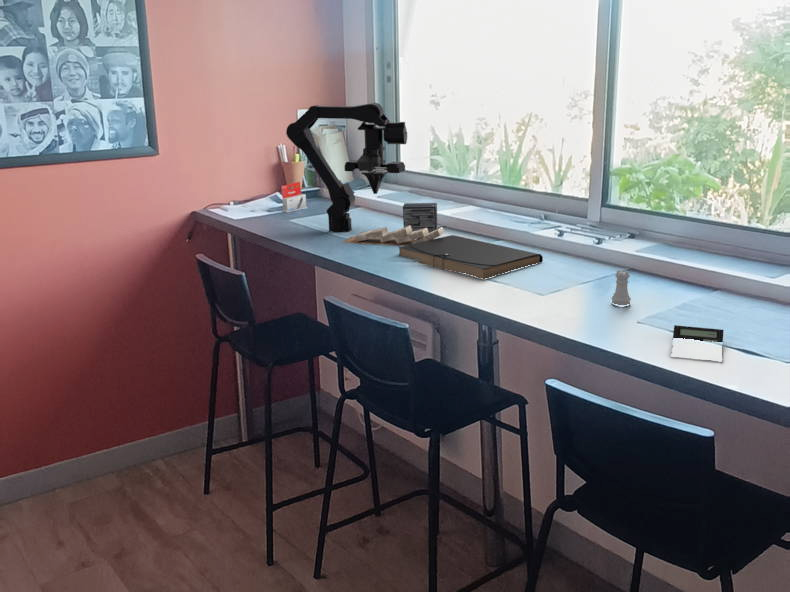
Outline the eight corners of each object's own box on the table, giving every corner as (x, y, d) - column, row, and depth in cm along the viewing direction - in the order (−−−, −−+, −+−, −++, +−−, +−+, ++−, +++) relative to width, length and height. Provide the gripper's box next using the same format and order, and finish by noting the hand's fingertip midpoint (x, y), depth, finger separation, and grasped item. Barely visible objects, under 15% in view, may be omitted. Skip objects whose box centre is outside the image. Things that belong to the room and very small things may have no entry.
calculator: (670, 358, 157) (671, 344, 156) (673, 338, 167) (674, 324, 166) (722, 364, 154) (723, 349, 153) (722, 343, 164) (723, 329, 163)
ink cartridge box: (306, 207, 308) (305, 181, 305) (287, 212, 299) (285, 186, 296) (301, 207, 309) (300, 181, 306) (282, 212, 300) (280, 186, 297)
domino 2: (379, 237, 247) (405, 228, 243) (384, 234, 251) (410, 225, 247) (381, 243, 247) (407, 234, 243) (386, 239, 251) (412, 230, 248)
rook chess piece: (627, 308, 185) (629, 275, 182) (608, 306, 187) (610, 272, 185) (633, 303, 188) (635, 270, 186) (614, 300, 191) (616, 267, 188)
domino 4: (412, 242, 243) (437, 230, 239) (417, 238, 248) (442, 226, 244) (414, 247, 243) (440, 235, 240) (419, 244, 248) (444, 232, 244)
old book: (397, 246, 232) (456, 233, 247) (397, 260, 233) (456, 246, 248) (483, 267, 208) (543, 251, 223) (483, 282, 209) (542, 266, 224)
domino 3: (395, 238, 245) (422, 231, 241) (400, 235, 249) (426, 227, 246) (397, 244, 245) (424, 236, 242) (402, 240, 249) (428, 233, 246)
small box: (438, 234, 260) (437, 202, 256) (437, 239, 253) (436, 206, 250) (405, 234, 261) (404, 202, 258) (403, 239, 255) (402, 206, 251)
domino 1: (361, 238, 254) (388, 232, 250) (356, 241, 249) (383, 236, 246) (360, 232, 253) (386, 227, 250) (354, 236, 249) (381, 230, 246)
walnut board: (342, 245, 249) (341, 242, 249) (351, 239, 257) (351, 236, 256) (410, 248, 243) (410, 246, 242) (418, 242, 250) (418, 239, 250)
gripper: (335, 146, 251) (338, 196, 255) (391, 148, 244) (392, 199, 249) (351, 142, 260) (352, 190, 265) (405, 143, 254) (406, 193, 258)
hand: (375, 193), depth 259 cm, fingers closed
